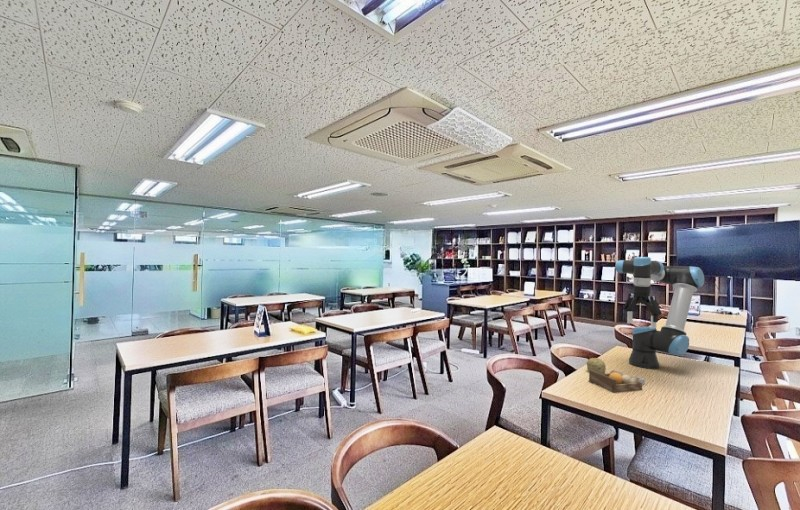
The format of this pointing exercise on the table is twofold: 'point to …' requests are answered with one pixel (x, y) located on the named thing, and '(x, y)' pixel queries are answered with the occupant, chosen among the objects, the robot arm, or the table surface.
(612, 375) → the ball
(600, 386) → the mat
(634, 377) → the grey square frame
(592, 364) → the decorative item
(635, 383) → the brown wooden tray
